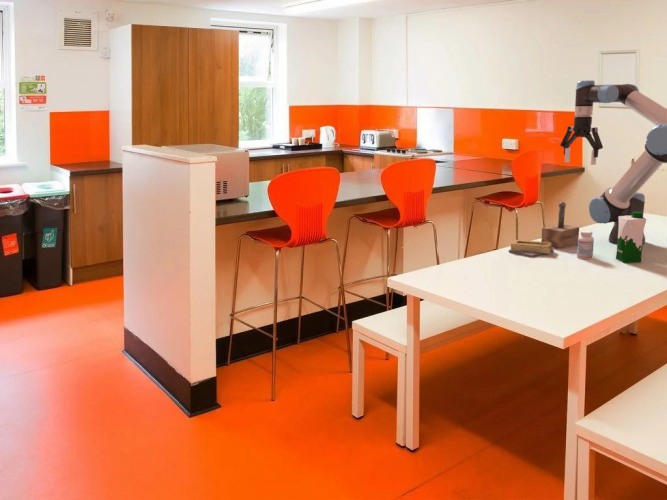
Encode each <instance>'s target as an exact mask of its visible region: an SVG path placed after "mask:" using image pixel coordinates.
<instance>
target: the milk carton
mask: <svg viewBox="0 0 667 500" xmlns="http://www.w3.org/2000/svg"><path fill="white" fill-rule="evenodd" d="M618 218H619V229H618V241H617V244H616V254H615V260H617V261H619V262H621V263H624V264H633V263H634V264H638V263H639V264H641V263H642V253H643V245H642V243H643V233H644V234H645V231H644V230H645V226H646V223H647V221H648V219H647V218H645V217H644V213H643V212H639V211H633V212H632V216H618Z"/></svg>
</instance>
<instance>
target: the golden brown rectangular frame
mask: <svg viewBox="0 0 667 500" xmlns="http://www.w3.org/2000/svg"><path fill="white" fill-rule="evenodd" d="M551 249H553V248H552V242H541V241H538V240H537V241H536V240H523V239H513V240H512V242H511V243H510V250H511V251H524V252H537V253H548V254H551V253H550V251H551Z"/></svg>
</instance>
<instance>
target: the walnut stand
mask: <svg viewBox="0 0 667 500" xmlns="http://www.w3.org/2000/svg"><path fill="white" fill-rule="evenodd" d="M566 205H567V204H566V202H564V201H560V202H559V203H558V220H557V221H558V222H557V224H553V225H548V226H544V227H542V228H541V241H540V242H552V249H556V250H557V249H558V250H563V249H566V248H571V247H574V246H578V238H579V237H580V227H579V226H574V225H567V224H565V210H566Z"/></svg>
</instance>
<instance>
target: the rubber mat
mask: <svg viewBox="0 0 667 500" xmlns="http://www.w3.org/2000/svg"><path fill="white" fill-rule="evenodd" d="M554 252H555V251H554V248H552V249H551V251H550V253H537V252H524V251H511V249H508V253H510V254H513V255H514V254H515V255H519V256H522V257H527V258H532V259H533V258H535V257H539V256H543V255H548V254H552V253H554Z"/></svg>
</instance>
